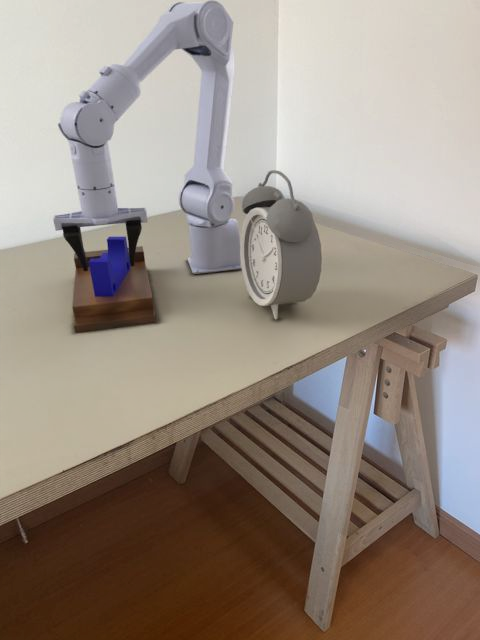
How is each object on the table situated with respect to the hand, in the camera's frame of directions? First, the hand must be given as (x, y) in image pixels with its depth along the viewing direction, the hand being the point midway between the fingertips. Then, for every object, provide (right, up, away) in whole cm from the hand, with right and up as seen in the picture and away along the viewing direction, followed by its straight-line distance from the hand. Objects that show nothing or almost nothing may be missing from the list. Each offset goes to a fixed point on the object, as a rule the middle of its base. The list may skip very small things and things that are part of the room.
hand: (109, 266), depth 95 cm
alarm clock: (+29, -7, -1) cm, 29 cm away
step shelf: (0, -5, +3) cm, 6 cm away
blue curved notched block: (0, -3, +1) cm, 3 cm away
